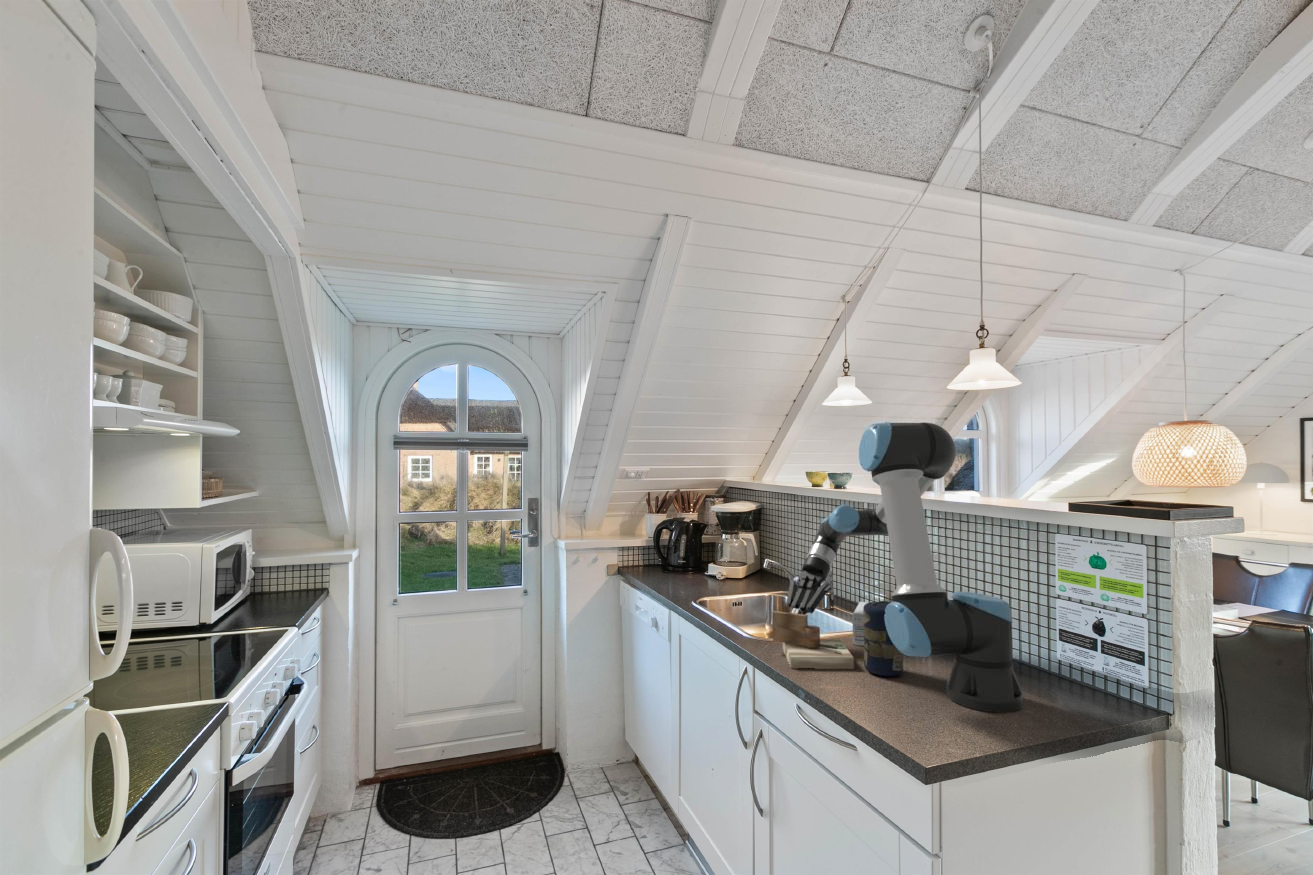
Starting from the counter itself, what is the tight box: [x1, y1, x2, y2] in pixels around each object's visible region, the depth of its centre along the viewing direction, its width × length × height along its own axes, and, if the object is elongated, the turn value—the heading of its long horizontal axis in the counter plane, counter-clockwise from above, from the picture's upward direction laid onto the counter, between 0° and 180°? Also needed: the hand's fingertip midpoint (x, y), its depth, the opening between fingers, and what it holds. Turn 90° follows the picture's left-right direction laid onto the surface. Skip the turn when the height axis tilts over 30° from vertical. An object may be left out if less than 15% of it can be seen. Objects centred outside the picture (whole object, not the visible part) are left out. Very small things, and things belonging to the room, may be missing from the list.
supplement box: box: [852, 601, 870, 647], centre depth 185 cm, size 17×13×9 cm
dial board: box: [782, 638, 855, 670], centre depth 168 cm, size 16×16×3 cm
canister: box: [863, 600, 905, 677], centre depth 157 cm, size 10×10×18 cm
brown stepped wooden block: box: [772, 610, 838, 649], centre depth 169 cm, size 18×4×8 cm, turn 58°
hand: (789, 630), depth 174 cm, fingers closed
